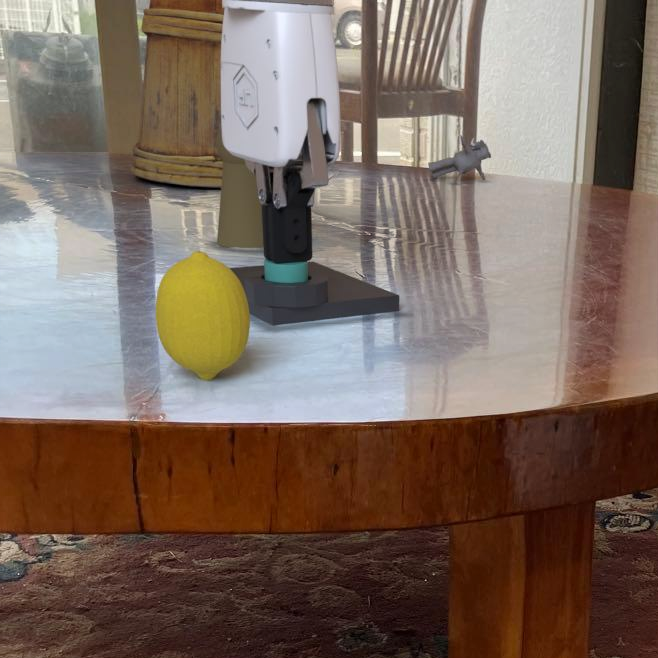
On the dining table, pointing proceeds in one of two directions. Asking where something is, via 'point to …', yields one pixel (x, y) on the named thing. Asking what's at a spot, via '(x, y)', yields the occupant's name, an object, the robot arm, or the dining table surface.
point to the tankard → (181, 94)
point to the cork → (238, 203)
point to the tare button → (286, 271)
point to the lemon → (202, 315)
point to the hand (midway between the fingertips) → (288, 259)
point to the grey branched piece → (462, 160)
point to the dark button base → (312, 296)
